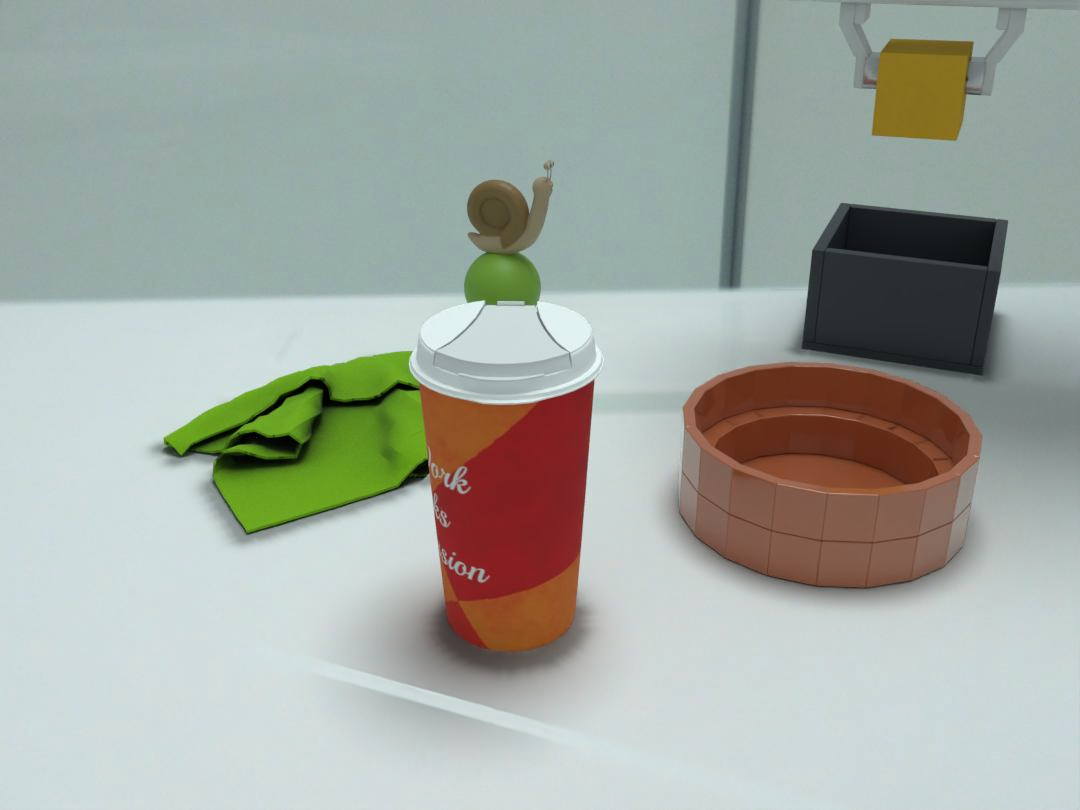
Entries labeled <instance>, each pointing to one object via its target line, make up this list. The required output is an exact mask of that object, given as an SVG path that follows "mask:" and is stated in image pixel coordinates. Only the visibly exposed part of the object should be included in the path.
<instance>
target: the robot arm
mask: <svg viewBox="0 0 1080 810" xmlns="http://www.w3.org/2000/svg"><path fill="white" fill-rule="evenodd" d="M779 1H781V2H783V1H785V2H810V3H811V2H812V3H817V2H818V3H840V8H839V18H838V25H839V27H840V30H841V31H842V34H843V36H844V38H845V40H846V42H847V44H848V47H849V49H850V51H851V53H852V55H853V57H855V63H854V64H855V65H854V74H853V83H852V84H853V89H862V90H863V89H864V90H876V87H877V77H878V67H879V57H880V52H881V51H880V52H879V51H878V52H877V51H873V50H872V47H871V45H870V43H869V40H868V38H867V36H866V33H865V31H864V29H863V26H862V25H864V24H865V23H866V22H867V21H868V20H869V19H870V18H871V9H872V4H873V5H874V4H875V5H877V4H878V5H903V6H905V5H907V6H933V7H934V6H937V7H964V8H965V7H967V8H996V9H998V10H997V18H996V24H995V28H996V30H998V31H1003V32H1002V33H1001V35H1000V36H999V37H998V39H997V40H996V41H995V43H994V44H993V45H992V46H991V47H990V49H989V50H988V52H987V53H986V55H985V56H972V57H970V60H969V62H968V68H967V75H966V76H967V79H966V83H965V90H964V94H967V95H971V96H985V97H991V96H992V94H993V88H994V82H995V77H996V76H995V75H996V69H997V65H998V64H1000V62H1001V61H1002V59H1003V58H1004V57H1005V56H1006V55H1007V53H1008V52H1009V51H1010V49H1011V48H1012V47H1013V45H1014V44H1015V43H1016V42H1017V41H1018V39H1019V38H1020V37H1021V35H1022V34H1023V33H1024V31H1025V24H1026V18H1027V12H1028V10H1029V9H1031V10H1056V11H1057V10H1059V11H1061V10H1063V11H1080V0H778V2H779Z"/></svg>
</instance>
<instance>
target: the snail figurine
mask: <svg viewBox="0 0 1080 810" xmlns="http://www.w3.org/2000/svg"><path fill="white" fill-rule="evenodd" d="M554 166H555V162H554V160H553V159H547V161H545V162H544V163H543V169H544V170H545V171H546V173H547V174H546V175H547V176H539V177H537V178H535V180H533V182H532V187H531V188H532V193H533V199H532V203H531V207H530V209H529V205H528V202H527V199H526V197H525V196H524V195H523V193H522V192H521V190H519V189H518V188H517V187H516V186H515V185H513V184H512V183H510V182H508V181H505V180H502V179H487V180H485V181H482V182H481V183H478V184H477V185H476V186H475V187H474V188H473V189H472V191H470V194H469V196H468V199H467V203H466V213H467V218H468V221H469V222H470V224H471V225H472V226H473V228H474V229H475V230H476V231H477V232H474V231H470V232H467V238H468V239H469V240H470V242H471V243H472V244H473V245H474V246H475V247H476V248H477V249H479V250H480V251H482V252H484V253H482V254H480V255H479V256H478V257H477V258H476V259H475V260H474V261H473V262H472V263H471V264H470V266H469V267H468V269H467V271H466V275H465V276H464V281H463V292H464V298H465V301H466V303H471V302H477V301H484V300H485V306H486V305H497V301H524V302H525V305H527V306H535V308H537V301H540V298H541V293H542V292H541V291H542V282H541V278H540V277H541V276H540V274H539V272H538V270H537V268H536V266H535V265H534V263H533V262H532V261H531V260H530V259H529V258H528V257H527V256H525V254H522V253H521V252H523V251H526V250H527V249H529V248H530V247H532V246H533V245H534V244H535V243H536V242H537V240H538V239H539V237H540V235H541V233H542V231H543V228H544V225H545V221H546V218H547V214H548V210H549V203H550V199H551V196H552V194H553V187H554V183H553V181H552V169H553V167H554ZM549 171H550V172H549Z"/></svg>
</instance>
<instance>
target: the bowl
mask: <svg viewBox="0 0 1080 810" xmlns="http://www.w3.org/2000/svg"><path fill="white" fill-rule="evenodd" d="M983 439H984V437H983V434H982V432H981V431H980V429H979V428H978V426H977V424H976V422H975V421H974V419H973V417H972V415H970V414H969V413H968V412H967V411H965V410H964V409H963V408H962V407H961V406H959V405H958V404H957V403H955V402H954V401H952V400H951V399H950V398H949V397H947V396H945V395H944V394H942V393H939V392H938V391H935V390H933V389H931V388H929V387H926V386H925V385H922V384H920V383H919V382H916V381H914V380H911V379H908V378H906V377H901V376H897V375H895V374H891V373H887V372H884V371H881V370H876V369H872V368H867V367H861V366H853V365H846V364H839V363H833V362H814V361H813V362H811V361H809V362H807V361H782V362H774V363H764V364H756V365H748V366H745V367H741V368H738V369H734V370H731V371H726V372H723V373H720V374H718V375H715V376H714V377H712V378H711V379H709V380H707V381H706V382H703V383H702V384H701V385H699V386H698V387H695V388H694V389H693V391H692V392H691V394H690V395H689V397H688V398H687V400H686V401H685V403H684V405H683V406H682V411H681V427H680V442H679V443H680V445H679V461H678V462H679V463H678V478H677V499H678V512H679V515H681V517H682V518H683V520H684V521H685V523H686V525H687V526H688V527H689V528H690V530H691V531H692V533H693V535H695V537H696V538H697V539H698V540H700V541H702V543H704V544H706V545H707V546H708V547H710V548H711V549H712V550H713V551H715V552H716V553H718V554H719V555H721V556H722V557H723V558H725V559H726V560H730V561H732V562H734V563H736V564H739V565H740V566H744V567H745V568H748V569H751V570H752V571H755V572H758V573H760V574H762V575H764V576H769V577H774V578H778V579H782V580H788V581H792V582H797V583H800V584H801V583H802V584H805V585H810V586H818V587H840V588H841V587H842V588H873V587H880V586H886V585H892V584H899V583H904V582H910V581H914V580H916V579H918V578H921V577H923V576H926V575H927V574H929V573H932V572H934V571H936V570H939V569H941V568H943V567H945V566H946V565H947V564H948V563H949V562H950V560H952V559H953V557H954V556H956V554H957V553H958V552H959V551H960V550H961V549H962V548H963V547H964V544H965V539H966V535H967V528H968V523H969V518H970V513H971V508H972V501H973V497H974V492H975V486H976V482H977V475H978V470H979V464H980V461H981V460H980V459H981V454H982V453H981V452H982V446H983Z"/></svg>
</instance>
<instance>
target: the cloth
mask: <svg viewBox="0 0 1080 810" xmlns="http://www.w3.org/2000/svg"><path fill="white" fill-rule="evenodd" d="M413 351H414V350H402V351H401V350H400V351H391V352H386V353H380V354H374V355H371V356H358V357H356V358H353V359H350V360H348V361H346V362H338V363H333V364H331V365H327V364H323V365H317V366H312V367H309V368H306V369H304V370H299V371H295V372H292V373H289V374H286V375H283V376H279V377H277V378H275V379H274V380H272V381H270V382H268V383H266V384H265V385H262V386H260V387H258V388H254V389H251V390H248V391H245V392H243V393H241V394H240V395H238V396H236V397H234V398H233V399H231V400H229V401H227V402H224V403H222V404H221V403H220V404H218V405H215V406H213V407H211V408H209V409H207V410H205V411H203V412H202V413H201V414H199V415H198V416H196V417H195V418H193V419H192V420H190V421H189V422H188V423H186V424H185V425H183V426H181V427H179V428H177V429H176V430H174V431H172V432H170V433H169V434H168V435H165V436H164V437H163V445H164V446H167V447H171V448H174V450H176V451H177V453H178V454H179V455H180V456H183V455H184V453H186V452H187V451H191V452H197V453H205V454H217V453H218V454H219V453H220V454H219V455H218V456H217V457H216V459H214V460H213V466H212V478H213V481H214V482H215V485H216V487H217V489H218V491H219V492H220V495H222V497H223V499H224V501H225V502H226V503H227V505H228V506H229V508H230V509H231V511H232V512H233V515H234V516H235V517H236V519H237V520H238V522H239V523H240V524H241V525H242V527H243V529H244V530H245V532H246V534H249V533H253V532H256V531H260V530H263V529H266V528H269V527H273V526H277V525H281V524H284V523H286V522H290V521H294V520H297V519H300V518H303V517H307V516H310V515H315V514H317V513H320V512H324V511H327V510H331V509H334V508H337V507H341V506H345V505H347V504H350V503H354V502H357V501H361V500H364V499H367V498H370V497H373V496H376V495H380V494H382V493H385V492H388V491H391V490H393V489H397V488H399V487H400V485H401V484H403V482H404V481H405V480H406V479H407V478H408V477H410V478H414V477H416V478H419V477H420V478H423V477H427V476H429V475H430V473H429V465H428V456H427V447H426V439H425V430H424V422H423V413H422V405H421V396H420V387H419V381H417V380H416V379H415V378H414V376H413V375H412V373H411V372H410V367H409V360H410V356H411V354H412V352H413ZM254 432H255V433H257V434H259V435H257V436H255V437H252V438H251V439H250V440H248V441H247V442H246V443H244V444H237V443H239V442H240V441H242V440H243V439H244V438H245V437H247V436H248V435H250V434H251V433H254ZM236 444H237V445H236ZM234 445H235V446H234Z"/></svg>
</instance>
